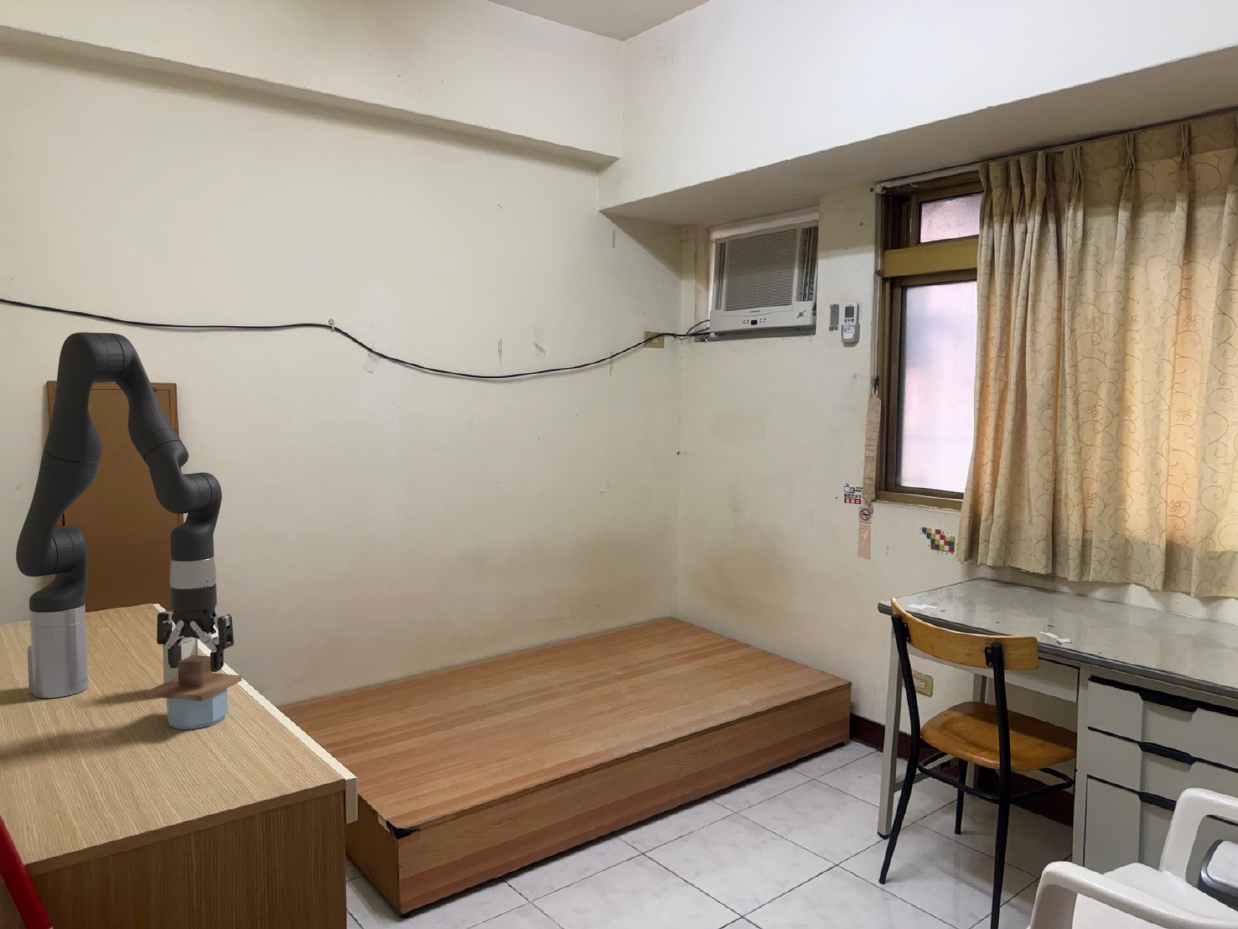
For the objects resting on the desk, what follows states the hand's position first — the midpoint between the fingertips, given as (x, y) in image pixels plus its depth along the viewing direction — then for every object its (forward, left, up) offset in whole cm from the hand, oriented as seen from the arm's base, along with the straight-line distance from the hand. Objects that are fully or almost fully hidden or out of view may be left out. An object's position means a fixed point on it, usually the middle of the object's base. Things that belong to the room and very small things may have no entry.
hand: (196, 669), depth 152 cm
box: (-14, +13, -10) cm, 21 cm away
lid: (0, 0, -4) cm, 4 cm away
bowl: (0, 0, -10) cm, 10 cm away
